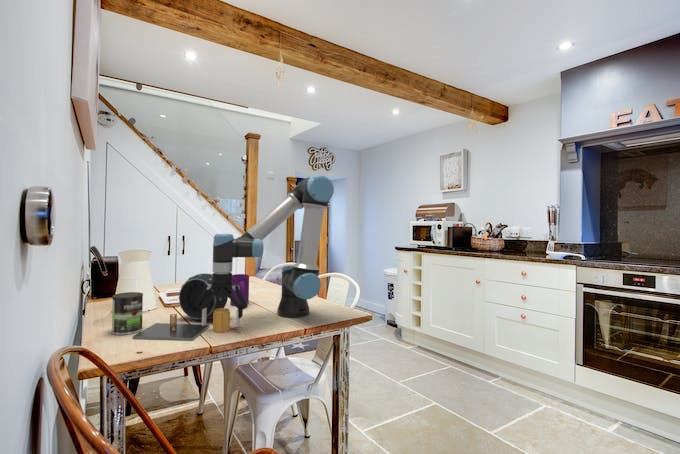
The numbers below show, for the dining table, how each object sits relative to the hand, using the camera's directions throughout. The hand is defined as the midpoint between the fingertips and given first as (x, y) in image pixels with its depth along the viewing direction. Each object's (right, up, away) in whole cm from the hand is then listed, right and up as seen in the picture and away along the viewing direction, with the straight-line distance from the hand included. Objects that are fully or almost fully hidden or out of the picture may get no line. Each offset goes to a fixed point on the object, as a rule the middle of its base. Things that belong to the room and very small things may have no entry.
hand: (220, 325), depth 140 cm
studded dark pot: (-12, -1, +14) cm, 19 cm away
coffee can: (-35, -1, -4) cm, 35 cm away
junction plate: (-17, -2, -5) cm, 18 cm away
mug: (-3, -1, +39) cm, 39 cm away
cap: (0, -2, 0) cm, 2 cm away
